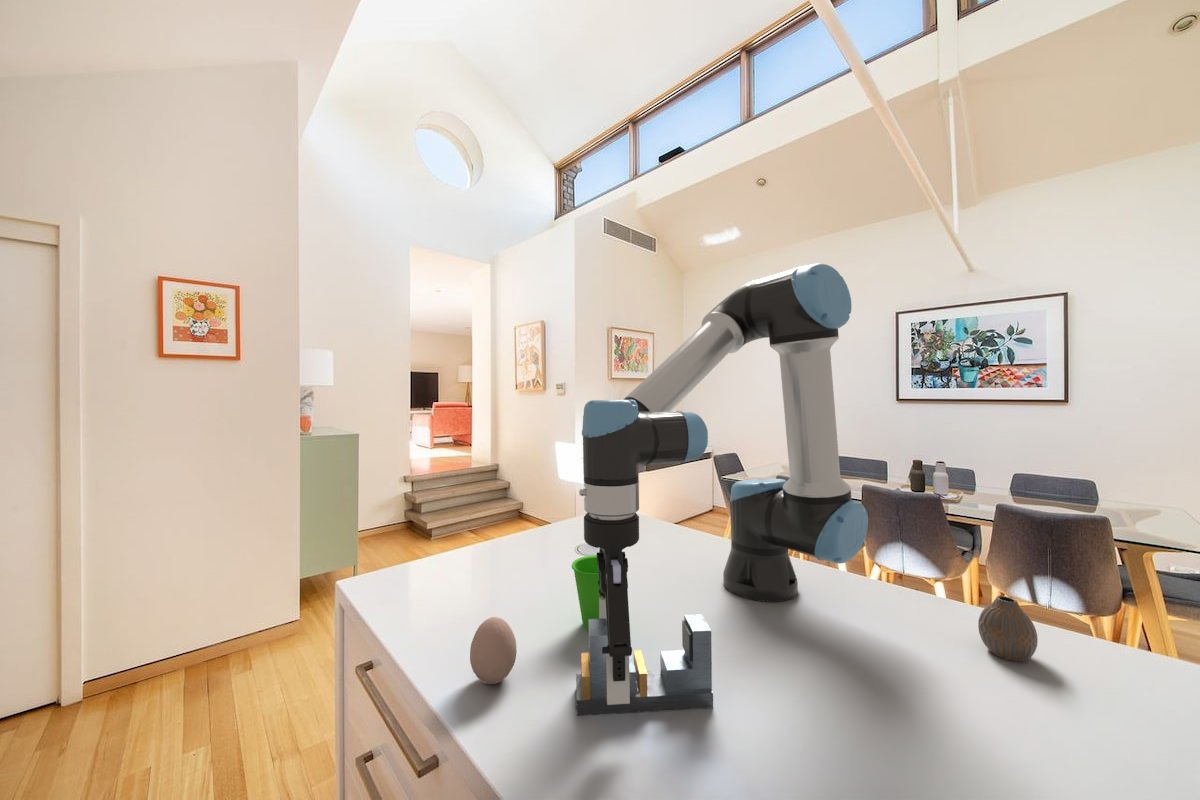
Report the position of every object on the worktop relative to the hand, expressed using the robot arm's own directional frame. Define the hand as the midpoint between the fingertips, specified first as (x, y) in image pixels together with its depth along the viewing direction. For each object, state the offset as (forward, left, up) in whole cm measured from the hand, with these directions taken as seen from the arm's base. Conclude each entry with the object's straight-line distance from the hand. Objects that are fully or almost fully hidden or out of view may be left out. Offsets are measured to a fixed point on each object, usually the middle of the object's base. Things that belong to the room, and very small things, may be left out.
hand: (612, 668), depth 61 cm
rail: (-4, 0, -4) cm, 6 cm away
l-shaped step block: (0, 0, -2) cm, 2 cm away
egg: (+17, -6, -4) cm, 18 cm away
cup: (+1, -21, -4) cm, 21 cm away
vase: (-63, -6, -4) cm, 63 cm away
